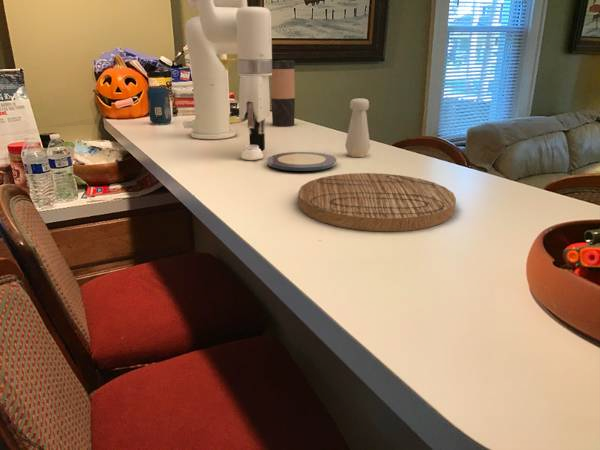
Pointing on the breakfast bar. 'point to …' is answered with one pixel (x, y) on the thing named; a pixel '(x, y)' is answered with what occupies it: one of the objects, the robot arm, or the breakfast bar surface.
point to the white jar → (252, 152)
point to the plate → (301, 161)
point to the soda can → (159, 105)
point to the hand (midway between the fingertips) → (257, 150)
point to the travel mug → (283, 92)
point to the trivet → (376, 202)
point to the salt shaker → (358, 129)
